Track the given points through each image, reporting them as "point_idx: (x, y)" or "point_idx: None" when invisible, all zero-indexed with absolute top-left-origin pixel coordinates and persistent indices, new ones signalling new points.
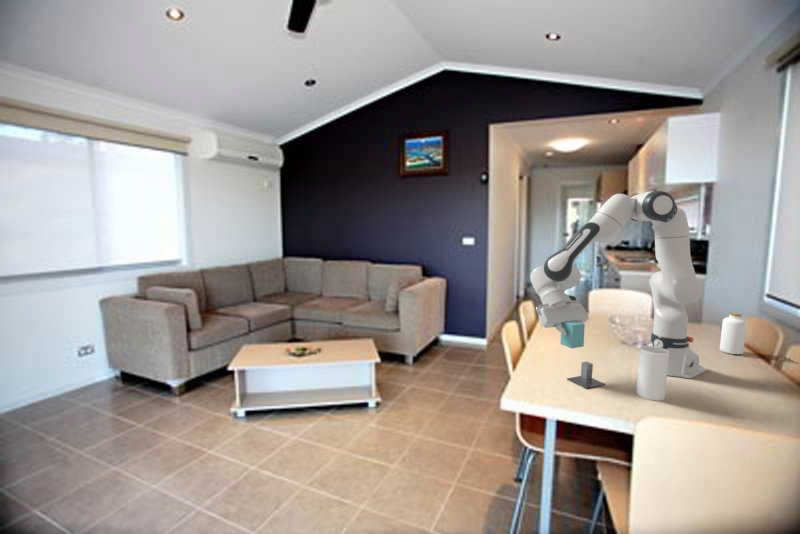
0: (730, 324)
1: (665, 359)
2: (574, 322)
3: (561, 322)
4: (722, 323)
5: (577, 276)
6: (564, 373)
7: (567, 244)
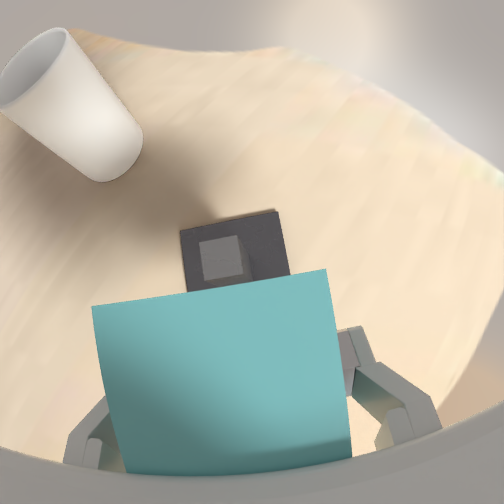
0: None
1: (51, 46)
2: (186, 417)
3: (397, 444)
4: None
5: None
6: None
7: None
